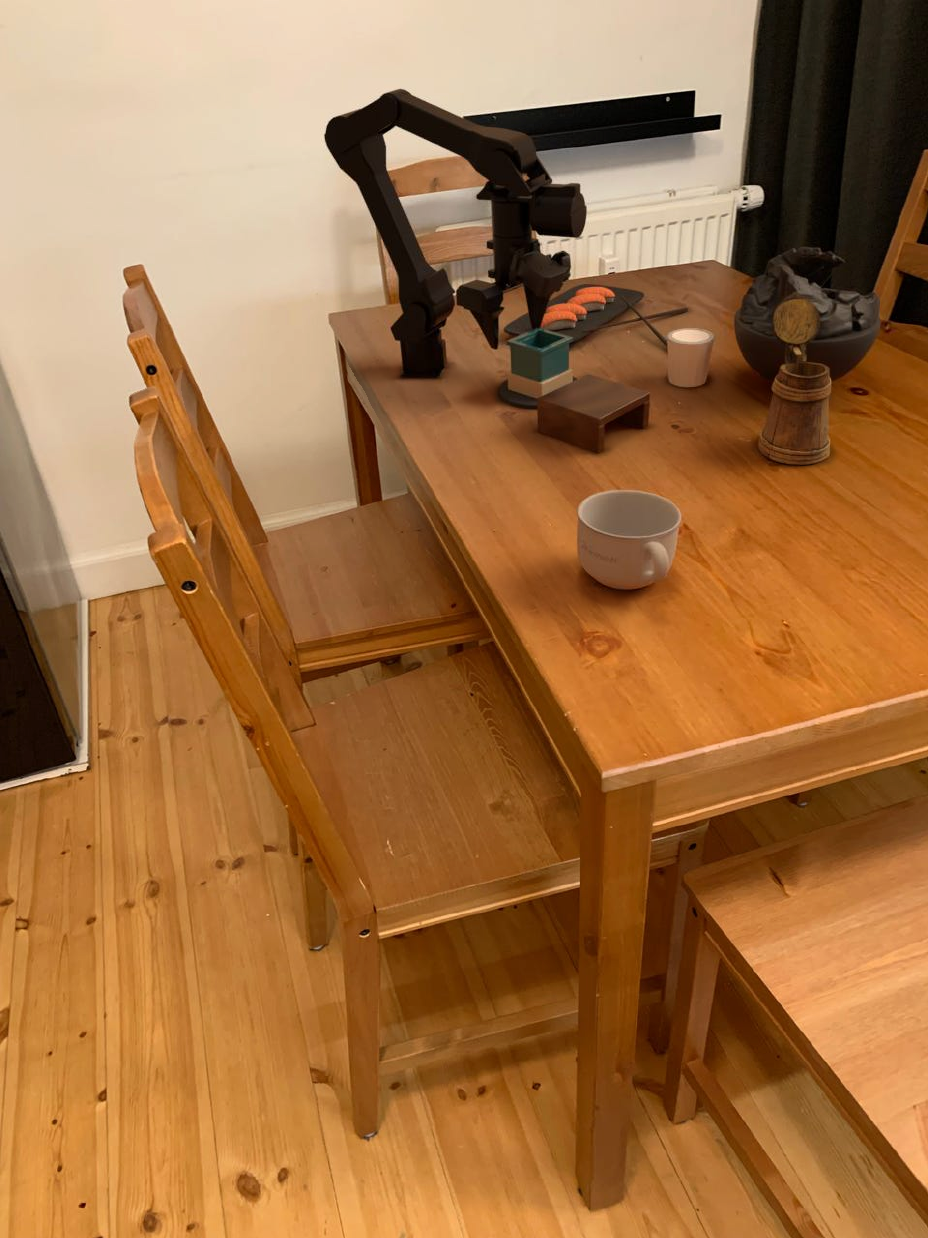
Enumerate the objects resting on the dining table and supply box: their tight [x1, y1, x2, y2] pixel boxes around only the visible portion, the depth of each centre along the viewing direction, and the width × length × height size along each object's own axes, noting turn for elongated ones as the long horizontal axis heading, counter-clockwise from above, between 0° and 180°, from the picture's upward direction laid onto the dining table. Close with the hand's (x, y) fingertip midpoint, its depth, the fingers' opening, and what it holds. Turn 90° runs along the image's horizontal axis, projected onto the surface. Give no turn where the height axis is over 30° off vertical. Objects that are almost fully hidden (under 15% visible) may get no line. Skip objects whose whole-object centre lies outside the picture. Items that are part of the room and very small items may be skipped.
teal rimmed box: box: [505, 328, 574, 399], centre depth 144 cm, size 8×7×7 cm
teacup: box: [576, 489, 683, 590], centre depth 101 cm, size 14×11×8 cm
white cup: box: [666, 327, 715, 388], centre depth 145 cm, size 7×7×7 cm
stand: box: [536, 373, 651, 454], centre depth 134 cm, size 11×11×5 cm
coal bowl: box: [733, 246, 882, 384], centre depth 138 cm, size 20×20×19 cm
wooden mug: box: [757, 292, 832, 465], centre depth 123 cm, size 9×14×18 cm, turn 178°
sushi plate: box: [503, 283, 689, 349], centre depth 166 cm, size 29×30×4 cm
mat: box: [497, 376, 578, 410], centre depth 146 cm, size 13×13×1 cm
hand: (515, 339), depth 146 cm, fingers open, 9 cm apart
